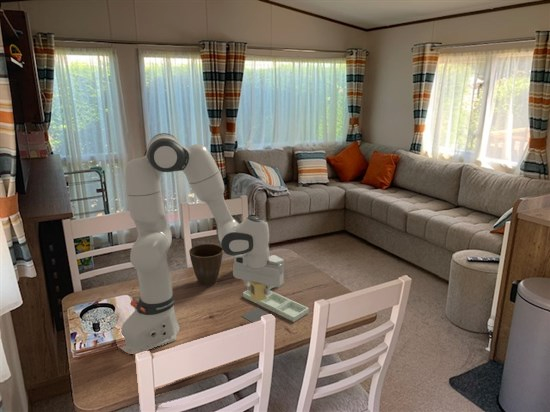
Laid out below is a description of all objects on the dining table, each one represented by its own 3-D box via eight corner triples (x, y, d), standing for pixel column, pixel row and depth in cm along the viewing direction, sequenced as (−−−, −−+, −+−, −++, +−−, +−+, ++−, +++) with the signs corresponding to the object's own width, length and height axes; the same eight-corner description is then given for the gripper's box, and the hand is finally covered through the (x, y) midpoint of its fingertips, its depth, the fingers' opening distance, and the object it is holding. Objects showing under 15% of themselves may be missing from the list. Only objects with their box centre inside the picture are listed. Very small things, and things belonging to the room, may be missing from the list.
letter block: (255, 302, 153) (255, 285, 151) (250, 296, 156) (249, 280, 154) (266, 299, 155) (266, 282, 153) (260, 293, 159) (260, 277, 157)
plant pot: (230, 282, 186) (229, 250, 181) (204, 293, 175) (202, 259, 171) (210, 272, 195) (209, 241, 191) (184, 282, 185) (182, 250, 180)
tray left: (258, 305, 166) (258, 300, 166) (242, 297, 172) (242, 292, 171) (273, 297, 173) (273, 291, 172) (258, 290, 179) (258, 284, 178)
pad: (257, 326, 152) (257, 325, 152) (241, 317, 158) (241, 316, 157) (273, 316, 158) (273, 315, 158) (257, 308, 164) (257, 307, 164)
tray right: (294, 323, 154) (294, 317, 153) (276, 314, 160) (276, 308, 159) (308, 313, 161) (308, 308, 160) (291, 305, 167) (291, 299, 166)
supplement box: (261, 283, 185) (261, 258, 181) (274, 279, 189) (274, 254, 185) (270, 289, 179) (271, 263, 175) (284, 285, 183) (284, 259, 180)
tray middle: (275, 313, 160) (275, 308, 159) (258, 305, 166) (258, 300, 165) (290, 305, 167) (290, 299, 166) (273, 297, 173) (274, 292, 172)
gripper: (286, 260, 149) (286, 293, 153) (238, 251, 158) (239, 283, 162) (279, 267, 144) (279, 301, 148) (230, 257, 152) (231, 290, 156)
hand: (258, 291), depth 155 cm, fingers closed on letter block, 6 cm apart
